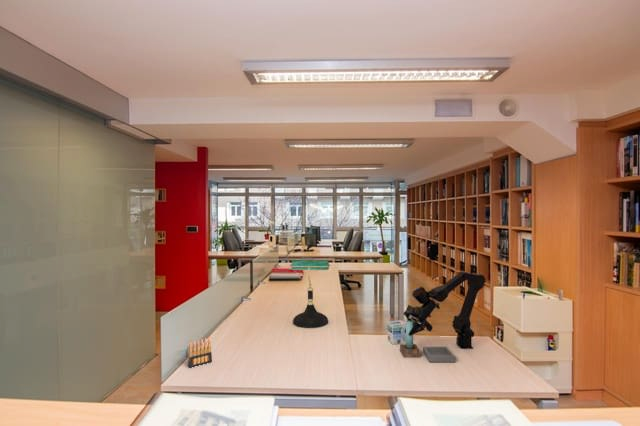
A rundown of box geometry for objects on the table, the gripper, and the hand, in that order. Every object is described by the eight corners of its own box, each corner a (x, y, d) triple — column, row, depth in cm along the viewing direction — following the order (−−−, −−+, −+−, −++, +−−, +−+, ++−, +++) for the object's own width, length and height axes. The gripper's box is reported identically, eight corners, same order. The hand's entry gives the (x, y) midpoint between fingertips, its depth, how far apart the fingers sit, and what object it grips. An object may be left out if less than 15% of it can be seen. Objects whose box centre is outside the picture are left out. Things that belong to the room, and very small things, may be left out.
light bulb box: (392, 345, 187) (392, 324, 187) (387, 340, 193) (386, 321, 193) (410, 342, 190) (410, 323, 190) (404, 338, 196) (404, 319, 196)
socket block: (415, 350, 179) (415, 344, 179) (419, 357, 171) (419, 350, 171) (400, 351, 179) (399, 344, 179) (403, 357, 171) (403, 350, 171)
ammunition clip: (210, 361, 169) (210, 336, 169) (212, 362, 167) (211, 337, 167) (188, 367, 162) (187, 341, 162) (189, 368, 161) (189, 342, 161)
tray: (446, 352, 176) (446, 346, 176) (455, 362, 164) (455, 356, 164) (422, 352, 176) (422, 346, 176) (429, 362, 164) (429, 356, 164)
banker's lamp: (332, 317, 237) (331, 258, 237) (329, 328, 214) (329, 263, 214) (293, 316, 239) (292, 258, 239) (287, 327, 217) (286, 263, 217)
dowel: (412, 346, 176) (412, 320, 176) (414, 349, 173) (413, 322, 173) (405, 346, 176) (405, 320, 176) (406, 349, 173) (406, 322, 173)
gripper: (406, 295, 185) (387, 318, 181) (426, 304, 167) (406, 329, 164) (419, 308, 187) (401, 331, 184) (441, 318, 169) (421, 344, 166)
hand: (407, 333), depth 174 cm, fingers closed on dowel, 3 cm apart
